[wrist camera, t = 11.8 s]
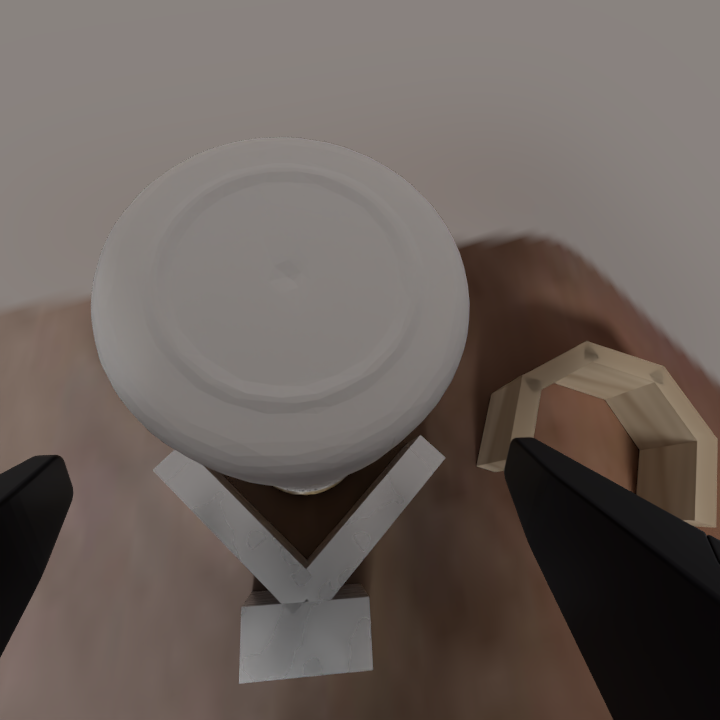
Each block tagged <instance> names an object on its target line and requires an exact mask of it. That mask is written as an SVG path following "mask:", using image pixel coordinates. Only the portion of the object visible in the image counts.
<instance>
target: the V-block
mask: <svg viewBox="0 0 720 720" xmlns="http://www.w3.org/2000/svg"><path fill="white" fill-rule="evenodd" d="M444 459H445V457H444V456H443V455H442V454H441V453H440V452H439V451H438V450H437V449H435V448H434V447H433V446H432V445H431V444H430V443H429V442H428V441H427V440H425V439H424V438H423V437H422V436H421V435H420V436H418V437H416V438H415V439H413V440H412V441H410V442H408V443H407V444H406V445H405V446H404V447H403V448H402V449H401V450H400V452H399V453H398V454H397V455H396V456H395V457H394V459H393V460H392V461H391V462H390V463H389V464H388V466H387V467H386V468H385V469H384V470H383V471H382V473H381V474H380V475H379V476H378V477H377V478H376V480H375V481H374V482H373V483H372V484H371V485H370V487H369V488H368V489H367V490H366V491H365V492H364V494H363V495H362V496H361V497H360V498H359V499H358V501H357V502H356V503H355V504H354V505H353V506H352V508H351V509H350V510H349V511H348V512H347V513H346V515H345V516H344V517H343V518H342V519H341V521H340V522H339V523H338V524H337V525H336V526H335V528H334V529H333V530H332V531H331V532H330V533H329V535H328V536H327V537H326V538H325V539H324V540H323V542H322V543H321V544H320V545H319V546H318V547H317V549H316V550H315V551H314V552H313V553H312V554H311V556H310V557H309V558H308V559H307V560H306V559H305V558H304V557H303V556H302V554H301V553H300V552H299V551H298V550H297V549H296V548H295V547H294V546H293V545H292V544H291V543H290V542H289V541H288V540H287V539H286V538H285V537H284V536H283V535H282V534H281V533H280V532H279V531H278V530H277V529H276V528H275V527H274V526H273V525H272V524H271V523H270V522H269V521H268V520H267V519H266V518H265V517H264V516H263V515H262V514H261V513H260V512H259V511H258V510H257V509H256V508H255V507H254V506H253V505H252V504H251V503H250V502H249V501H248V500H247V499H246V498H245V497H244V496H243V495H242V494H241V493H240V492H239V491H238V490H237V489H236V488H235V487H234V486H233V485H232V484H231V483H230V482H229V481H228V480H227V479H226V478H225V477H224V476H223V475H222V474H221V473H219V472H217V471H215V470H212V469H210V468H208V467H205V466H203V465H202V464H200V463H198V462H196V461H194V460H192V459H190V458H188V457H186V456H185V455H183V454H181V453H180V452H178V451H176V450H174V451H173V452H172V453H171V454H169V455H168V456H167V457H166V458H165V459H164V460H163V461H162V462H161V463H160V464H159V465H158V466H157V467H156V468H154V469H153V471H154V472H155V473H156V474H157V475H158V476H159V477H160V478H161V479H162V480H163V481H164V482H165V483H166V484H167V485H168V487H169V488H170V489H171V490H172V491H173V492H174V493H175V494H176V495H177V496H178V497H179V498H180V499H181V500H182V501H183V502H184V503H185V504H186V505H187V506H188V507H189V508H190V509H191V510H192V511H193V512H194V513H195V515H196V516H197V517H198V518H199V519H200V520H201V521H202V522H203V523H204V524H205V525H206V526H207V527H208V528H209V529H210V530H211V531H212V532H213V533H214V534H215V535H216V536H217V537H218V538H219V539H220V540H221V541H222V543H223V544H224V545H225V546H226V547H227V548H228V549H229V550H230V551H231V552H232V553H233V554H234V555H235V556H236V557H237V558H238V559H239V560H240V561H241V562H242V563H243V564H244V565H245V566H246V567H247V568H248V569H249V570H250V572H251V573H252V574H253V575H254V576H255V577H256V578H257V579H258V580H259V581H260V582H261V583H262V584H263V585H264V586H265V587H266V588H267V589H268V590H265V591H252V592H251V594H250V595H249V597H248V598H247V600H246V601H245V602H244V604H243V605H242V607H241V635H240V667H239V684H240V683H250V682H260V681H270V680H280V679H290V678H300V677H310V676H319V675H329V674H339V673H349V672H359V671H369V670H373V660H372V640H371V621H370V601H369V596H368V594H367V592H366V591H365V589H364V588H363V586H362V584H361V583H357V584H344V583H345V582H346V581H347V579H348V578H349V577H350V576H351V574H352V573H353V572H354V571H355V569H356V568H357V567H358V566H359V564H360V563H361V562H362V561H363V560H364V558H365V557H366V556H367V555H368V553H369V552H370V551H371V550H372V548H373V547H374V546H375V545H376V543H377V542H378V541H379V540H380V538H381V537H382V536H383V535H384V534H385V532H386V531H387V530H388V529H389V527H390V526H391V525H392V524H393V522H394V521H395V520H396V519H397V517H398V516H399V515H400V514H401V512H402V511H403V510H404V509H405V508H406V506H407V505H408V504H409V503H410V501H411V500H412V499H413V498H414V496H415V495H416V494H417V493H418V491H419V490H420V489H421V488H422V486H423V485H424V484H425V483H426V482H427V480H428V479H429V478H430V477H431V475H432V474H433V473H434V472H435V470H436V469H437V468H438V467H439V465H440V464H441V463H442V462H443V460H444ZM343 584H344V585H343Z"/></svg>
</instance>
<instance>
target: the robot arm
mask: <svg viewBox="0 0 720 720" xmlns="http://www.w3.org/2000/svg"><path fill="white" fill-rule="evenodd" d="M504 475H505V479H506V482H507V485H508V488H509V491H510V494H511V496H512V499H513V502H514V505H515V508H516V510H517V513H518V516H519V519H520V522H521V524H522V527H523V530H524V533H525V535H526V538H527V540H528V543H529V545H530V547H531V550H532V552H533V554H534V556H535V558H536V560H537V562H538V564H539V566H540V569H541V571H542V573H543V575H544V577H545V579H546V581H547V583H548V585H549V587H550V589H551V591H552V593H553V596H554V598H555V600H556V602H557V604H558V606H559V608H560V610H561V612H562V614H563V616H564V618H565V620H566V622H567V625H568V627H569V629H570V631H571V633H572V635H573V637H574V639H575V641H576V643H577V645H578V647H579V649H580V652H581V654H582V656H583V658H584V660H585V662H586V664H587V666H588V668H589V670H590V672H591V674H592V676H593V678H594V681H595V683H596V685H597V687H598V689H599V691H600V693H601V695H602V697H603V699H604V701H605V703H606V705H607V707H608V710H609V712H610V714H611V716H612V718H613V720H720V540H718V539H716V538H714V537H712V536H711V535H707V536H706V534H705V532H703V531H701V530H700V529H698V528H696V527H694V526H692V525H690V524H689V523H687V522H685V521H683V520H681V519H680V518H678V517H676V516H674V515H672V514H671V513H669V512H667V511H665V510H663V509H661V508H660V507H658V506H656V505H654V504H652V503H651V502H649V501H647V500H645V499H643V498H642V497H640V496H638V495H636V494H634V493H632V492H631V491H629V490H627V489H625V488H623V487H622V486H620V485H618V484H616V483H614V482H613V481H611V480H609V479H607V478H605V477H603V476H602V475H600V474H598V473H596V472H594V471H593V470H591V469H589V468H587V467H585V466H584V465H582V464H580V463H578V462H576V461H574V460H573V459H571V458H569V457H567V456H565V455H564V454H562V453H560V452H558V451H556V450H555V449H553V448H551V447H549V446H547V445H545V444H544V443H542V442H540V441H538V440H536V439H535V438H532V437H518V438H514V439H512V441H511V443H510V446H509V450H508V454H507V459H506V463H505V468H504ZM72 498H73V487H72V483H71V480H70V477H69V474H68V471H67V468H66V465H65V462H64V460H63V458H62V457H61V456H58V455H39V456H34V457H32V458H30V459H28V460H26V461H24V462H22V463H20V464H19V465H17V466H15V467H13V468H11V469H9V470H7V471H5V472H4V473H2V474H0V657H1V655H2V653H3V651H4V649H5V647H6V645H7V643H8V642H9V640H10V638H11V636H12V634H13V632H14V630H15V628H16V626H17V624H18V622H19V620H20V618H21V616H22V615H23V613H24V611H25V609H26V607H27V605H28V603H29V601H30V599H31V597H32V595H33V593H34V591H35V589H36V587H37V585H38V583H39V581H40V579H41V577H42V575H43V572H44V570H45V568H46V565H47V563H48V561H49V558H50V555H51V553H52V550H53V548H54V545H55V543H56V540H57V538H58V535H59V532H60V530H61V527H62V525H63V522H64V520H65V517H66V515H67V512H68V510H69V507H70V504H71V502H72Z"/></svg>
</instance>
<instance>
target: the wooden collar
mask: <svg viewBox="0 0 720 720" xmlns="http://www.w3.org/2000/svg"><path fill="white" fill-rule="evenodd" d="M553 383H556V384H559V385H562V386H565V387H568V388H571V389H574V390H577V391H580V392H583V393H586V394H589V395H592V396H595V397H598V398H602V399H605V400H606V402H607V403H608V405H609V406H610V408H611V409H612V411H613V412H614V413H615V415H616V416H617V418H618V419H619V421H620V422H621V424H622V425H623V427H624V428H625V430H626V431H627V433H628V434H629V435H630V437H631V438H632V440H633V441H634V443H635V444H636V446H637V447H638V449H639V450H640V453H639V466H638V479H637V492H636V495H638V496H640V497H642V498H643V499H645V500H647V501H649V502H651V503H652V504H654V505H656V506H658V507H660V508H661V509H663V510H665V511H667V512H669V513H671V514H672V515H674V516H676V517H678V518H680V519H681V520H683V521H685V522H687V523H689V524H690V525H692V526H698V527H715V528H716V504H717V440H718V439H717V438H716V437H715V435H714V434H713V433H712V431H711V430H710V428H709V427H708V426H707V424H706V423H705V422H704V420H703V419H702V418H701V416H700V415H699V413H698V412H697V411H696V409H695V408H694V407H693V405H692V404H691V403H690V401H689V400H688V399H687V397H686V396H685V394H684V393H683V392H682V390H681V389H680V388H679V386H678V385H677V384H676V382H675V381H674V379H673V378H672V377H671V375H670V374H669V373H668V371H667V370H666V369H665V367H664V366H661V365H658V364H655V363H652V362H649V361H646V360H643V359H640V358H637V357H634V356H631V355H628V354H625V353H622V352H619V351H616V350H613V349H610V348H607V347H604V346H601V345H597V344H594V343H591V342H588V341H585V342H583V343H581V344H580V345H578V346H576V347H574V348H573V349H571V350H569V351H567V352H565V353H563V354H562V355H560V356H558V357H556V358H554V359H552V360H550V361H548V362H547V363H545V364H543V365H541V366H539V367H537V368H535V369H534V370H532V371H530V372H528V373H526V374H524V375H521V376H520V377H518V378H516V379H515V380H513V381H511V382H510V383H508V384H506V385H505V386H503V387H501V388H500V389H498V390H497V391H495V392H493V393H492V394H491V398H490V403H489V408H488V412H487V417H486V422H485V427H484V432H483V437H482V442H481V446H480V451H479V456H478V461H477V467H480V468H483V469H486V470H490V471H493V472H498V471H504V468H505V463H506V459H507V454H508V450H509V446H510V443H511V441H512V439H514V438H518V437H532V438H534V432H535V425H536V419H537V413H538V407H539V401H540V395H541V390H542V389H544V388H546V387H548V386H549V385H551V384H553Z"/></svg>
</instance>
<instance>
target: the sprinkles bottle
mask: <svg viewBox="0 0 720 720" xmlns="http://www.w3.org/2000/svg"><path fill="white" fill-rule="evenodd" d="M469 308H470V302H469V292H468V283H467V278H466V273H465V269H464V265H463V262H462V259H461V255H460V252H459V250H458V248H457V245H456V243H455V241H454V238H453V236H452V235H451V233H450V231H449V229H448V227H447V225H446V224H445V222H444V221H443V219H442V218H441V217H440V215H439V214H438V212H437V211H436V209H435V208H434V207H433V206H432V204H431V203H430V202H429V201H428V200H427V199H426V198H425V197H424V196H423V195H422V194H421V193H420V192H419V191H418V190H417V189H416V188H415V187H414V186H412V184H410V183H409V182H408V181H407V180H405V179H404V178H403V177H402V176H400V175H398V174H397V173H396V172H394V171H393V170H391V169H390V168H388V167H387V166H385V165H383V164H381V163H380V162H378V161H376V160H374V159H372V158H370V157H368V156H366V155H364V154H361V153H359V152H356V151H354V150H351V149H348V148H346V147H343V146H339V145H336V144H332V143H328V142H323V141H317V140H310V139H304V138H294V137H273V138H254V139H248V140H241V141H236V142H232V143H228V144H224V145H221V146H218V147H215V148H211V149H209V150H206V151H203V152H201V153H198V154H196V155H195V156H192V157H190V158H188V159H187V160H185V161H183V162H181V163H179V164H177V165H176V166H174V167H172V168H171V169H169V170H168V171H166V172H165V173H164V174H163V175H161V176H160V177H159V178H157V179H156V180H154V181H153V182H152V183H150V184H149V185H148V186H147V187H146V188H145V189H144V190H143V191H142V192H141V193H140V194H139V195H138V196H137V197H136V198H135V199H134V200H133V201H132V203H131V204H130V205H129V206H128V207H127V208H126V210H125V211H124V212H123V214H122V215H121V216H120V218H119V219H118V220H117V222H116V223H115V224H114V226H113V228H112V230H111V232H110V234H109V235H108V237H107V240H106V242H105V244H104V246H103V249H102V251H101V254H100V257H99V261H98V265H97V268H96V272H95V276H94V280H93V287H92V297H91V320H92V326H93V333H94V339H95V343H96V347H97V351H98V355H99V359H100V362H101V364H102V366H103V369H104V371H105V373H106V374H107V376H108V378H109V380H110V382H111V384H112V387H113V388H114V390H115V391H116V393H117V394H118V396H119V398H120V399H121V400H122V402H123V403H124V404H125V405H126V407H127V408H128V409H129V410H130V412H131V413H132V414H133V415H134V416H135V417H136V418H137V419H138V420H139V421H140V422H141V423H142V424H143V425H144V426H145V427H146V428H147V429H148V430H149V431H150V432H151V433H152V434H153V435H154V436H156V437H157V438H158V439H160V440H161V441H162V442H164V443H165V444H166V445H168V446H170V447H171V448H173V449H175V450H176V451H178V452H180V453H181V454H183V455H185V456H186V457H188V458H190V459H192V460H194V461H196V462H198V463H200V464H202V465H203V466H205V467H208V468H210V469H212V470H215V471H217V472H219V473H222V474H224V475H227V476H231V477H234V478H237V479H240V480H243V481H247V482H250V483H256V484H262V485H270V486H274V487H275V488H277V489H279V490H281V491H284V492H286V493H290V494H295V495H309V494H318V493H321V492H324V491H326V490H328V489H330V488H332V487H334V486H336V485H337V484H339V483H340V482H341V481H342V480H343V479H344V478H345V477H346V476H347V475H349V474H351V473H354V472H356V471H358V470H360V469H362V468H364V467H366V466H368V465H370V464H372V463H373V462H375V461H376V460H378V459H379V458H381V457H382V456H383V455H385V454H386V453H387V452H389V451H390V450H391V449H392V448H394V447H395V446H396V445H398V444H399V443H400V442H401V441H402V440H404V439H405V438H406V437H407V436H408V435H409V434H410V433H411V432H412V431H413V430H414V429H415V428H416V427H417V426H418V425H419V424H420V423H421V422H423V420H424V419H425V418H426V417H427V416H428V414H429V413H430V412H431V411H432V410H433V408H434V407H435V406H436V405H437V404H438V402H439V401H440V399H441V397H442V396H443V394H444V393H445V391H446V389H447V388H448V386H449V385H450V383H451V381H452V379H453V377H454V375H455V372H456V370H457V368H458V365H459V363H460V360H461V357H462V354H463V351H464V348H465V344H466V339H467V334H468V324H469Z"/></svg>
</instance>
